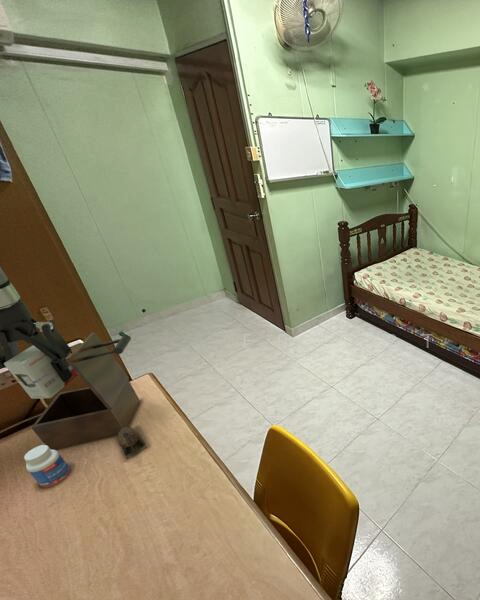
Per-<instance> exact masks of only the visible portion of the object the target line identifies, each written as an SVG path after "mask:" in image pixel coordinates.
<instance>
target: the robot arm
mask: <svg viewBox="0 0 480 600" xmlns="http://www.w3.org/2000/svg"><path fill="white" fill-rule="evenodd" d="M38 329H39V330H38ZM18 341H24V342H25V343H27V344H31V346H33V345H34V346H35V347H36V348H37V349H39V350H40V351H41V352H43V353H44V354H45V355H47V356H48V357H49V358H51V359H52V360H53V361H52V362H51V365H52V366H53V368H54V369H55V370H56V372H57V373H58V375H59V376H60V378H61V379H62V381H63V382H68V380H69V379H70V378H71V377H72V373H71V372H70V370H69V368H68V367H69V366H70V365H69V364H68V362H67V360H68V356H69V355H70V354H71V353H72V351H73V349H72V348H71V347H70V345H69V344H68V343H67V342H66V340H65V339H64V338H63V336H62V335H61V334H60V332H59V331H58V330H57V328H56V325H55V321H54V320H52V319H51V320H50V319H49V320H47V321H38V320H37V319H35V318H34V317H32V315H31V310H30V309H29V307H28V306H27V305H26V303H25V302H24V300H22V299H21V295H20V294H19V293H18V291H17V290H16V288H15V286H14V285H13V283H12V282H11V280H9V278H8V276H7V274H6V273H5V271H4V270H3V268H2V267H1V266H0V370H1V369H3V368H5V369H8V368H7V367H6V366H5V365H4V363H5V362H7V361H8V360H10V359H12V358H13V357H15V356H16V355H18V354H20V350H19V344H18ZM66 358H67V359H66Z"/></svg>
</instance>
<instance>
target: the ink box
mask: <svg viewBox="0 0 480 600" xmlns="http://www.w3.org/2000/svg"><path fill="white" fill-rule="evenodd" d="M66 359H67V361H68V357H66ZM52 361H53V360H52V359H51V358H49V357H48V356H47V355H45V354H44V353H43V352H41V351H40V350H39V349H37V348H36V347H35V346H34V345H31V346H29V347H28V348H26V349H24V350H23V351H21V352H19V354H18V355H16V356H15V357H13V358H12V359H10V360H8V361H7V362H5V363H4V365H5V366H6V367H7V368H6V369H7V370H8V371H9V373H11V375H12V376H13V378H15V380H16V381H17V382H18V384H19V385H20V386H21V388H22V389H23V390H24V391H25V393H27V395H28V396H29V397H30V398H31V399H32V400H33V399H38V400H39V399H51V398H53V397H54V396H55V395H56V394H58V393H60V391H61V390H62V389H63V388H65V387H66V386H67V385H68V384H69V383H70V382H72V381H73V380H75V378H76V377H77V376H78V374H77V373H76V372H75V370H74V369H73V368H72V367H71V366H69V367H68V368H69V370H70V372H71V373H72V377H71V378H70V379H69V380H68V382H63V381H62V379H61V378H60V376H59V375H58V373H57V372H56V370H55V369H54V368H53V366H52V365H51V362H52Z"/></svg>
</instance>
